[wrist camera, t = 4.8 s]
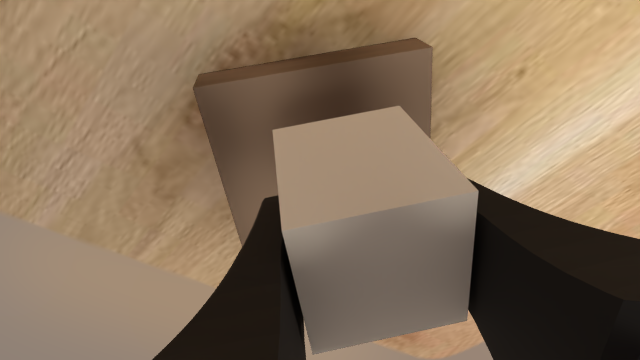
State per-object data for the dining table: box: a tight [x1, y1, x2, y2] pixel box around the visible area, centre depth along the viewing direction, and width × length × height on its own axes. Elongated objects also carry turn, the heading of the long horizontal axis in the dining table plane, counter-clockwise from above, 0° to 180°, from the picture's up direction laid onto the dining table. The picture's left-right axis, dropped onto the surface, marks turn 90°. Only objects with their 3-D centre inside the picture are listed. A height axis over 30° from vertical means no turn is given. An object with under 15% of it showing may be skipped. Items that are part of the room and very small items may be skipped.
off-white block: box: [272, 106, 478, 354], centre depth 11 cm, size 4×4×5 cm
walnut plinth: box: [193, 38, 432, 247], centre depth 19 cm, size 10×10×2 cm
